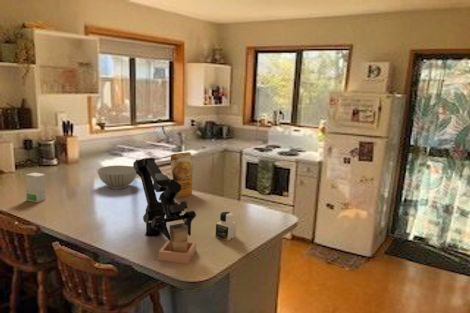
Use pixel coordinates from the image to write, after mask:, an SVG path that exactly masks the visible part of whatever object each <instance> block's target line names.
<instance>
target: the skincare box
mask: <svg viewBox="0 0 470 313" xmlns="http://www.w3.org/2000/svg"><path fill="white" fill-rule="evenodd" d="M25 189H26V193H25V194H26V195H25V199H26V201H29V202H33V203H40V202H42V201H46V197H47V196H46V174H45V173H41V172H40V173H39V172H31V173H26V174H25Z"/></svg>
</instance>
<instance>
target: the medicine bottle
mask: <svg viewBox="0 0 470 313" xmlns="http://www.w3.org/2000/svg"><path fill="white" fill-rule="evenodd" d="M236 230H237V222H235V221H234V214H233V213H232V212H231V211H222V212H221V213H220V217H219V221H218V222H216V223H215V237H216V238H218V239H220V240H224V241H231V238H232V239H233V238H235V237H236V234H237V231H236Z"/></svg>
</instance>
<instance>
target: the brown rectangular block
mask: <svg viewBox="0 0 470 313" xmlns="http://www.w3.org/2000/svg"><path fill="white" fill-rule="evenodd" d="M169 235H170V238H171V239H170V240H169V251H172V252H180V253H187V241H188V240H189V239H188V238H189V235H188V226H186V225H185V224H184V222H182V223H175V224H170V225H169Z"/></svg>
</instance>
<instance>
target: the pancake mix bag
mask: <svg viewBox="0 0 470 313" xmlns="http://www.w3.org/2000/svg"><path fill="white" fill-rule="evenodd" d="M192 157H193V156H192V153H191V152H189V151H187V152H180V153H179V152H178V153H177V152H176V153H173V154H171V155H170V165H171V166H170V167H171V174H172V179H174V180H175V181H176V182H178V183H179V184H180V185H181V191H180V192H179V194H178V195H177V196H176V198H177V199H178V198H182V197H188V196H192V194H193V174H194V167H193V158H192ZM176 198H175V199H176Z"/></svg>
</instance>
